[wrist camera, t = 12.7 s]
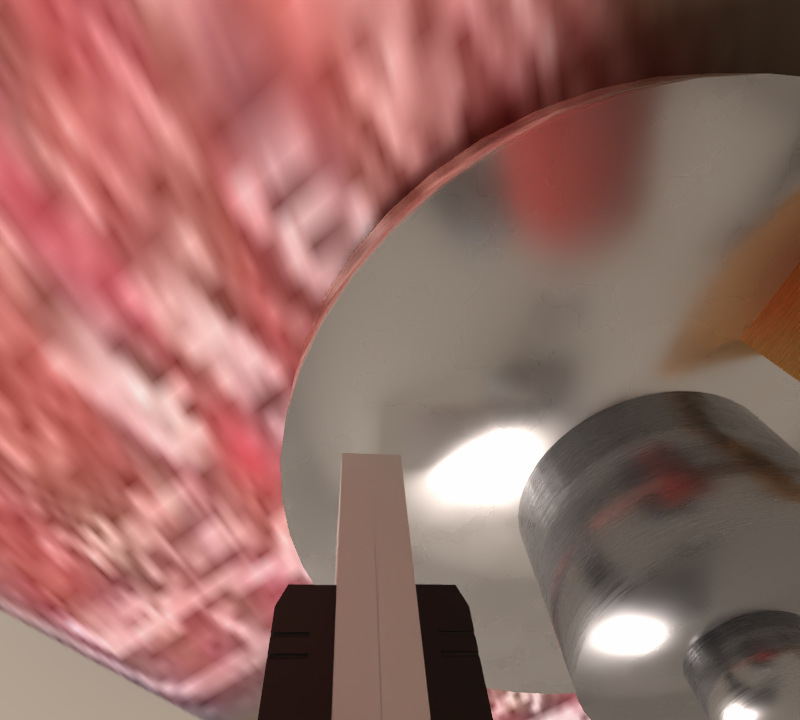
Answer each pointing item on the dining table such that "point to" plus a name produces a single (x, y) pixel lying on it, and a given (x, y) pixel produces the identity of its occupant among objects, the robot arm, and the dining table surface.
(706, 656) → the cover
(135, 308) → the dining table surface
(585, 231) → the turntable
